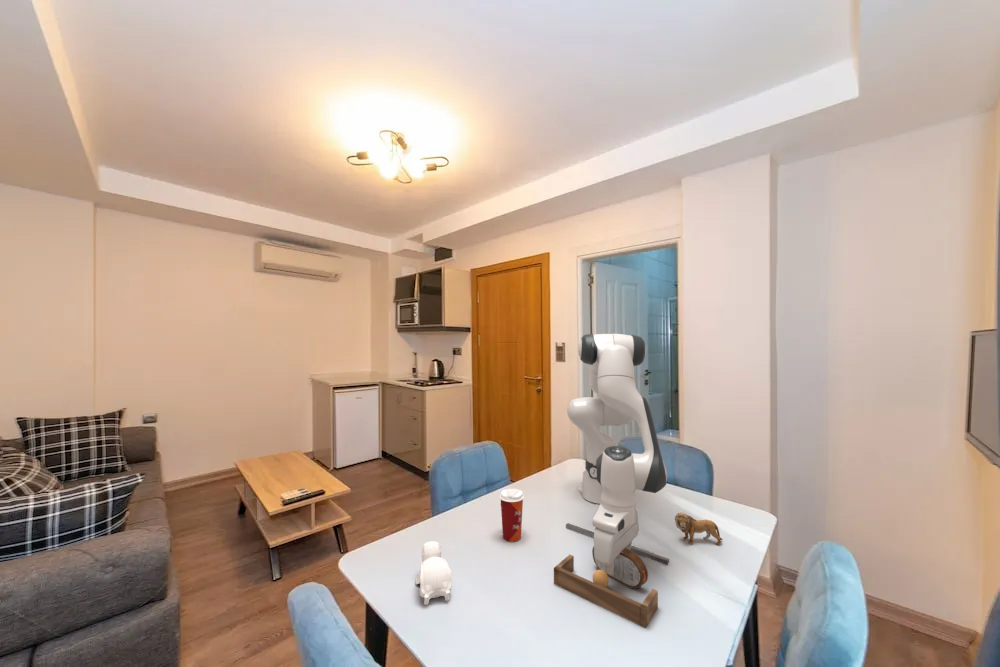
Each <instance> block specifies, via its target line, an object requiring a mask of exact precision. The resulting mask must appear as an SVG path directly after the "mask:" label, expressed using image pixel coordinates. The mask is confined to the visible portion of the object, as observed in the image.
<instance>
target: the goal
mask: <svg viewBox="0 0 1000 667" xmlns="http://www.w3.org/2000/svg"><path fill="white" fill-rule="evenodd" d="M574 562H575V560H574V555H572V554H568V555H567V556H566V557H565V558H564V559H563V560H561V561H560V562H559V563H558V564H557V565H555V566H554V567H553V585H556V586H558V587H559V588H562V589H564V590H566V591H568V592H570V593H572V594H574V595H576V596H578V597H581V598H583V599H584V600H586V601H588V602H590V603H593V604H595V605H597V606H599V607H600V608H603V609H606V610H607V611H610V612H611V613H614V614H616V615H618V616H620V617H622V618H624V619H626V620H628V621H630V622H632V623H634V624H636V625H638V626H640V627H642V628H645V629H646V628H647V626H648V625H649V623H650V622H651V620H652V618H653V616H654V615H655V614H656V612H657V610H658V608H659V599H658V598H659V596H658V595H659V590H657V589H656V588H651V590H650V591H649V592H648V594H647V596H646V597H645V599H644V600H643V601H642V603H641V602H639V601H636V600H634V599H632V598H629V597H627V596H625V595H623V594H621V593H618V592H616V591H614V590H611V589H610V588H607V587H603V586H600V585H598V584H596V583H594V582H593V581H592V580H589V579H588V578H584V577H582V576H580V575H578V574H575V573H573V572H574V570H575V569H574V568H575V566H574Z"/></svg>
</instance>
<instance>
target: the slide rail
mask: <svg viewBox="0 0 1000 667" xmlns="http://www.w3.org/2000/svg"><path fill="white" fill-rule="evenodd" d="M565 529H567V530H570V531H573V532H575V533H579V534H581V535H584V536H587V537H589V538H593V539H594V531H592V530H588V529H585V528H583V527H580V526H578V525H574V524H572V523H568V522H567V523H566V524H565ZM630 550H631V551H633V552H634V553H636V554H637V555H638V556H642V557H643V558H644V557H645V558H647V559H650V560H653V561H655V562H659V563H661V564H664V565H667V566H668V565H669V564H670V559H669V558H667V557H665V556H662V555H660V554H656V553H654V552H651V551H648V550H645V549H643V548H639V547H637V546H634V545H631V549H630Z"/></svg>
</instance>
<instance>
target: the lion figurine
mask: <svg viewBox="0 0 1000 667" xmlns="http://www.w3.org/2000/svg"><path fill="white" fill-rule="evenodd" d="M674 520H675V521H674V522H675V526H676V528H677V529H679V530H680V531H681V533H684V536H683V538H682V539H683V541H687V540H688V539H689V541H688V544H689V545H692V546H693V545H694V536H695V534H701V533H704V532H705V533H706V536H703V537H702V539H703V540H704V541H707V540H709V538H710V537H711V536H712V537H713V538H714V539H716V540H717V541H716V542H715V545H717V546H722V545H721V544H722V541H723V537H721V534H720V530H719V527H718V525H717V524H716V523H715V522H714V521H712V520H710V519H699V520H697V519H695V518H694V517H692V516H691V515H689V514H687V513H684V512H678V513H677V514H676V515H675V517H674Z"/></svg>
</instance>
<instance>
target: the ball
mask: <svg viewBox="0 0 1000 667" xmlns="http://www.w3.org/2000/svg"><path fill="white" fill-rule="evenodd" d="M609 577H610V576H608V575H607V573H606V572H605V571H603V570H600V569H597V570H595V571H594V572H593V574H592V582H594V583H596V584H598V585H600V586H603V587H605V588H607V587H608V585H609V582H610V578H609Z"/></svg>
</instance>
